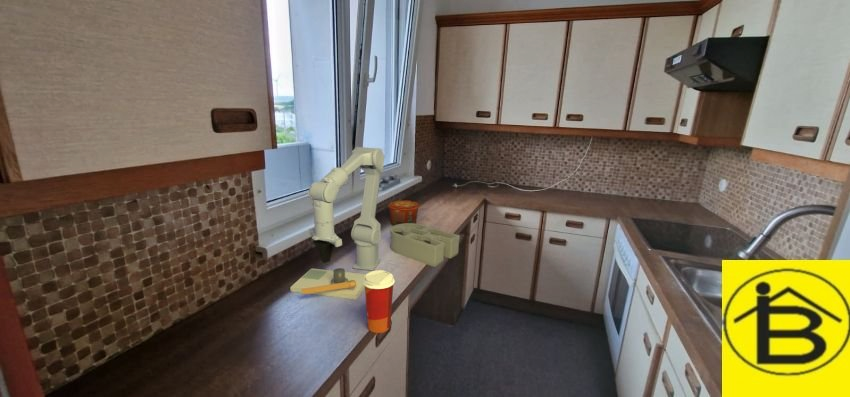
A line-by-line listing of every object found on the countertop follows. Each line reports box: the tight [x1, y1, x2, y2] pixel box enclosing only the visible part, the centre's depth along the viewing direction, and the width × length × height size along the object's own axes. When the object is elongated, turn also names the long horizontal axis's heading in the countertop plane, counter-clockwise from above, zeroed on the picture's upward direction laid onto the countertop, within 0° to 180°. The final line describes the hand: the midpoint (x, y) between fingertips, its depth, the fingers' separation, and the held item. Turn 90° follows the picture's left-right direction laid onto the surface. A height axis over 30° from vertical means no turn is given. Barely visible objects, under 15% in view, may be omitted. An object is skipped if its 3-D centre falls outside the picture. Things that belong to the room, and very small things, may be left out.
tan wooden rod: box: [301, 280, 356, 295], centre depth 109 cm, size 2×16×1 cm, turn 112°
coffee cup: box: [363, 269, 396, 334], centre depth 94 cm, size 8×8×15 cm
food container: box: [387, 199, 420, 227], centre depth 181 cm, size 16×16×11 cm
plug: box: [331, 267, 348, 284], centre depth 115 cm, size 6×6×6 cm
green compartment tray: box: [389, 223, 461, 268], centre depth 146 cm, size 17×28×9 cm, turn 52°
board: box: [289, 267, 367, 300], centre depth 117 cm, size 14×22×2 cm, turn 80°
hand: (326, 261), depth 111 cm, fingers closed
